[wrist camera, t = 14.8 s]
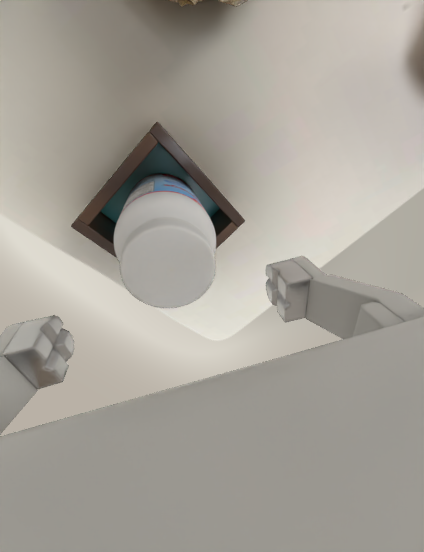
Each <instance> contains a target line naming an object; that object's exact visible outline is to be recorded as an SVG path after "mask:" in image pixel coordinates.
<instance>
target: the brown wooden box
mask: <svg viewBox="0 0 424 552" xmlns="http://www.w3.org/2000/svg"><path fill="white" fill-rule="evenodd" d="M157 173H165V174H170V175H174V176H176V177H178V178H180V179H182V180H183V181H184V182H185V183H187V184H188V185H189V187H190V188H191V189H192V190H193V192H194V193H195V195H196V197H197V198H198V200H199V201H200V203H201V204H202V206H203V207H204V209H205V211H206V212H207V214H208V215H209V217H210V219H211V221H212V223H213V226H214V229H215V233H216V248H217V247H218V246H219V245H220V244H222V243H223V242H224V241H225V240H226V239H227V238H228V237H229V236H230V235H231V234H232V233H233V232H234V231H235V230H236V229H237V228H238V227H239V226H240V225H241V224H242V223H244V222H245V220H244V219H243V218H242V216H241V215H240V214H239V213H238V212H237V211H236V210H235V208H234V207H233V206H232V205H231V204H230V203H229V202H228V201H227V199H226V198H225V197H224V196H223V195H222V194H221V193H220V191H219V190H218V189H217V188H216V187H215V186H214V185H213V184H212V182H211V181H210V180H209V179H208V178H207V177H206V176H205V174H204V173H203V172H202V171H201V170H200V169H199V168H198V167H197V165H196V164H195V163H194V162H193V161H192V160H191V159H190V157H189V156H188V155H187V154H186V153H185V152H184V151H183V150H182V148H181V147H180V146H179V145H178V144H177V143H176V142H175V140H174V139H173V138H172V137H171V136H170V135H169V134H168V133H167V131H166V130H165V129H164V128H163V127H162V126H161V125H160V124H159V122H156V123H155V124H154V126H153V127H152V128H151V129H150V131H149V132H148V133H147V134H146V135H145V137H144V138H143V139H142V140H141V141H140V143H139V144H138V145H137V146H136V148H135V149H134V150H133V151H132V152H131V154H130V155H129V156H128V157H127V158H126V160H125V161H124V162H123V163H122V165H121V166H120V167H119V168H118V169H117V171H116V172H115V173H114V174H113V175H112V177H111V178H110V179H109V180H108V181H107V183H106V184H105V185H104V186H103V188H102V189H101V190H100V191H99V192H98V194H97V195H96V196H95V197H94V198H93V200H92V201H91V202H90V203H89V205H88V206H87V207H86V208H85V209H84V211H83V212H82V213H81V214H80V215H79V217H78V218H77V219H76V220H75V222H74V223H73V224H72V225H71V227H72V228H74V229H75V230H77V231H78V232H80V233H81V234H83V235H84V236H86V237H87V238H89V239H90V240H92V241H93V242H94V243H96V244H97V245H99V246H100V247H102V248H103V249H105V250H106V251H108V252H109V253H111V254H112V255H114V256H115V257H117V256H116V253H115V249H114V231H115V227H116V224H117V221H118V219H119V216H120V214H121V212H122V210H123V207H124V205H125V203H126V201H127V198H128V196H129V194H130V192H131V190H132V189H133V188H134V186H135V185H136V184H137V183H138V182H139V181H141V180H142V179H143V178H145V177H147V176H149V175H152V174H157Z"/></svg>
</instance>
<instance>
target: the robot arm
mask: <svg viewBox="0 0 424 552" xmlns="http://www.w3.org/2000/svg"><path fill="white" fill-rule="evenodd" d="M266 275H267V276H268V278H269V279H268V280H267V282H266V291H267V295H268V298H269V300H270V301H271V303H272V304H273V305H275V306H277V312H278V313H279V315H280V316H281V317H282V319H283V320H284V322H289V321H294V320H298V319H302V318H306V319H307V320H309V321H311V322H313V323H315V324H316V325H318V326H320V327H322V328H324V329H326V330H327V331H329V332H331V333H333V334H335V335H337V336H338V337H340V338H342V339H343V340H339V341H336V342H332V343H329V344H325V345H322V346H318V347H315V348H311V349H308V350H304V351H301V352H297V353H294V354H290V355H287V356H283V357H280V358H276V359H272V360H269V361H265V362H262V363H258V364H255V365H251V366H248V367H244V368H240V369H237V370H233V371H230V372H226V373H223V374H219V375H216V376H212V377H209V378H205V379H202V380H198V381H194V382H191V383H188V384H184V385H180V386H177V387H174V388H170V389H166V390H163V391H159V392H156V393H152V394H149V395H145V396H142V397H138V398H135V399H131V400H128V401H124V402H121V403H117V404H113V405H110V406H107V407H103V408H99V409H96V410H92V411H89V412H85V413H82V414H78V415H74V416H71V417H67V418H64V419H60V420H57V421H54V422H50V423H46V424H43V425H39V426H36V427H32V428H29V429H25V430H22V431H18V432H14V433H11V434H8V435H4V436H0V552H424V308H423V307H422V306H420V305H419V304H417V303H416V302H414V301H413V300H411V299H410V298H408V297H407V296H405V295H404V294H402V293H399V292H396V291H392V290H388V289H384V288H380V287H377V286H373V285H369V284H365V283H362V282H358V281H354V280H350V279H346V278H343V277H339V276H335V275H332V274H330V275H326V274H325V273H324V272H323V271H321V270H320V269H319V268H318V267H317V266H315V265H314V264H313V263H312V262H311V261H309V260H308V259H307V258H306V257H304V256H299V257H295V258H292V259H289V260H285V261H281V262H277V263H273V264H269V265H267V266H266ZM62 326H63V322H62V321H61V319H60V318H59V317H58V316H55V315H53V316H49V317H44V318H40V319H35V320H31V321H26V322H22V323H18V324H13V325H10V326H8V327H7V328H6V329H5V330H4V332H3V333H2V334H1V336H0V434H1V433H2V432H3V431H4V430H5V428H6V427H7V426H8V425H9V424H10V422H11V421H12V420H13V419H14V418H15V417H16V415H17V414H18V413H19V412H20V411H21V410H22V408H23V407H24V406H25V405H26V404H27V403H28V401H29V400H30V399H31V398H32V397H33V396H34V394H35V393H36V392H37V389H41V388H44V387H47V386H51V385H54V384H58V383H61V382H63V380H64V377H65V375H66V372H67V369H68V364H67V363H66V361H67V360H68V359H69V358H70V357H71V356H72V355H73V351H74V340H73V337H72V335H71V334H70V332H69V331H67V330H65V329H63V328H62Z"/></svg>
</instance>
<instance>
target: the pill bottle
mask: <svg viewBox="0 0 424 552" xmlns="http://www.w3.org/2000/svg"><path fill="white" fill-rule="evenodd" d="M114 249H115V253H116V256H117V259H118V261H119V263H120V274H121V278H122V281H123V283H124V285H125V287H126V288H127V290H128V291H129V292H130V293H131V294H132V295H133V296H134V297H135V298H137V299H138V300H140V301H142V302H143V303H145V304H148V305H150V306H154V307H159V308H177V307H181V306H184V305H187V304H190V303H192V302H194V301H195V300H197V299H199V298H200V297H201V296H202V295H203V294H204V293H205V292H206V291H207V290H208V289H209V287H210V286H211V284H212V282H213V279H214V276H215V271H216V262H215V257H214V254H215V250H216V233H215V229H214V226H213V223H212V221H211V219H210V217H209V215H208V214H207V212H206V211H205V209H204V207H203V206H202V204H201V203H200V201H199V200H198V198H197V197H196V195H195V193H194V192H193V190H192V189H191V188H190V187H189V185H188V184H187V183H185V182H184V181H183V180H182V179H180V178H178V177H176V176H174V175H170V174H165V173H157V174H152V175H149V176H147V177H145V178H143V179H142V180H141V181H139V182H138V183H137V184H136V185H135V186H134V188H133V189H132V190H131V192H130V194H129V196H128V198H127V201H126V203H125V205H124V207H123V210H122V212H121V214H120V216H119V219H118V221H117V224H116V227H115V231H114Z"/></svg>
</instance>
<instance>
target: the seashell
mask: <svg viewBox="0 0 424 552" xmlns="http://www.w3.org/2000/svg"><path fill="white" fill-rule="evenodd" d="M169 1H172V2H178V3H179V4H180V6H181V7H183V6H184V5H186V4H190V5H193V6H194V5H195V4H196V3H198V2H199V1H203V0H169ZM246 1H247V0H219V2H223V3H226V4H229V5H233V6H236V7H237V6H239V5H241V4H242V3H244V2H246Z"/></svg>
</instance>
